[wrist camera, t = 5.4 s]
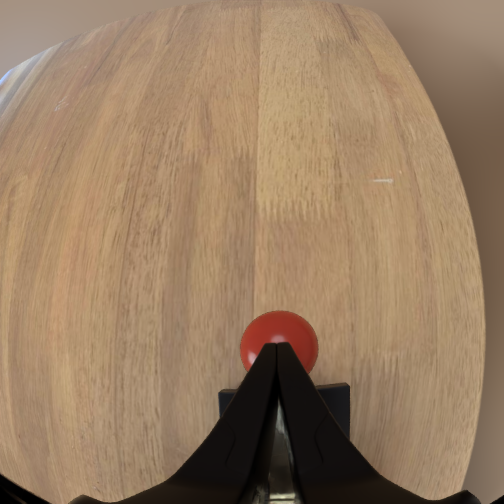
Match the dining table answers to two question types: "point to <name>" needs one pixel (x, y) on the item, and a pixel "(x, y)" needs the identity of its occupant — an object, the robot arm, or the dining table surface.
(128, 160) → the dining table surface
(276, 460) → the lever
